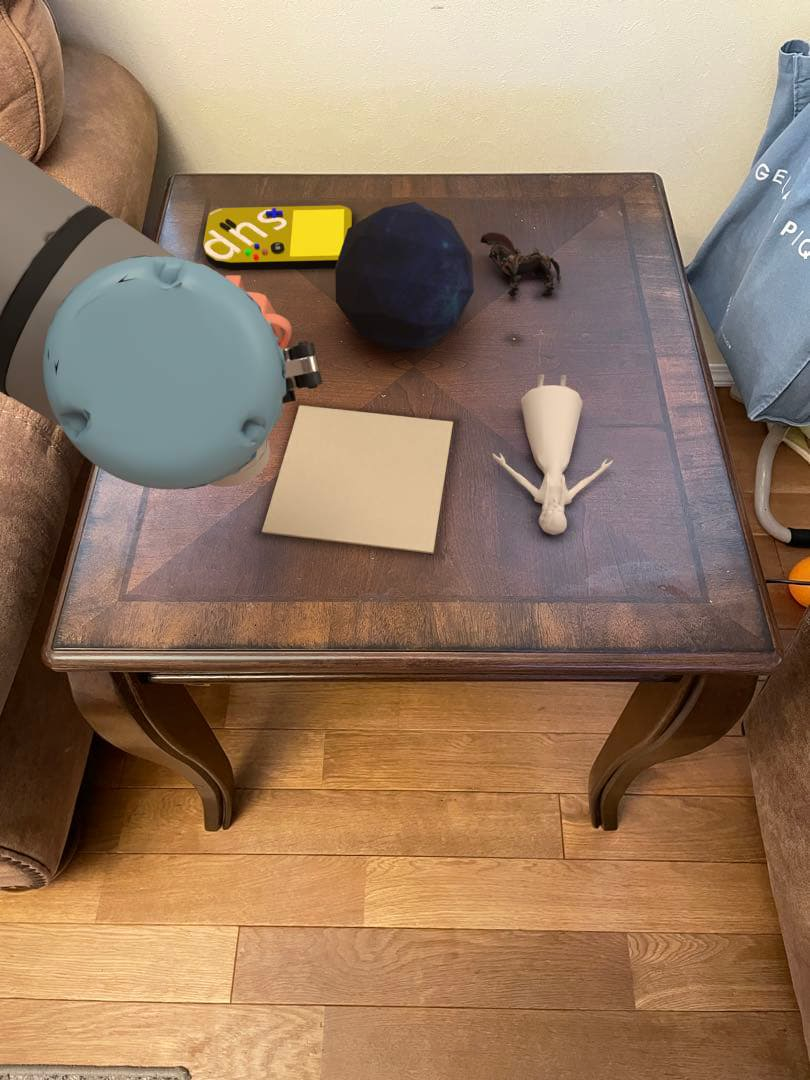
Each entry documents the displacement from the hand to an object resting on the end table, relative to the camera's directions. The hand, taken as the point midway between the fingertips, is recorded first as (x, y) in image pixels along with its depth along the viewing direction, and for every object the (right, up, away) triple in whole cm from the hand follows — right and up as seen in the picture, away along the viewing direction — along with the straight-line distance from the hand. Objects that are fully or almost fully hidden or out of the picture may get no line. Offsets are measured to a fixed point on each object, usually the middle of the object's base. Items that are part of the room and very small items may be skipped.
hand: (213, 390), depth 62 cm
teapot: (-4, +6, +24) cm, 25 cm away
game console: (-1, +25, +37) cm, 45 cm away
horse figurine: (+29, +17, +31) cm, 46 cm away
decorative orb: (+15, +12, +28) cm, 34 cm away
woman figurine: (+29, -4, +17) cm, 34 cm away
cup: (+1, -5, +2) cm, 5 cm away
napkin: (+11, -5, +16) cm, 20 cm away
